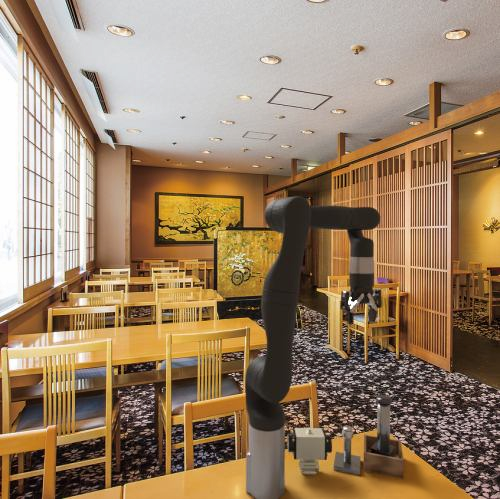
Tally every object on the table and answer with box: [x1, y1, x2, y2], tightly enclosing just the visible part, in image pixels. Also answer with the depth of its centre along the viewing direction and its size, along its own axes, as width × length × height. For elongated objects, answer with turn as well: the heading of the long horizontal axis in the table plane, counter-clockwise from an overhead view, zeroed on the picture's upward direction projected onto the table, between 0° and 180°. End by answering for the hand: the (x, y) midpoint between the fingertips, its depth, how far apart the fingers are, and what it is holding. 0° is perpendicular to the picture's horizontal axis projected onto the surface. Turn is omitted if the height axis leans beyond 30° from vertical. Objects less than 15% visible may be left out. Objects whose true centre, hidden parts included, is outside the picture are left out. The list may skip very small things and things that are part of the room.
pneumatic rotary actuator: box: [286, 426, 333, 476], centre depth 97 cm, size 6×12×12 cm, turn 89°
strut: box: [371, 394, 396, 458], centre depth 100 cm, size 5×5×18 cm
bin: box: [363, 434, 405, 480], centre depth 101 cm, size 10×10×5 cm
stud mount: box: [333, 425, 362, 476], centre depth 100 cm, size 7×7×11 cm
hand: (361, 322), depth 111 cm, fingers open, 8 cm apart
